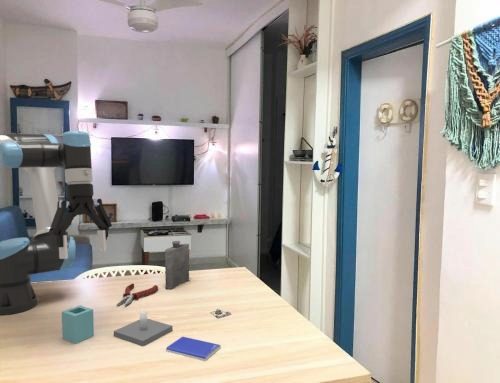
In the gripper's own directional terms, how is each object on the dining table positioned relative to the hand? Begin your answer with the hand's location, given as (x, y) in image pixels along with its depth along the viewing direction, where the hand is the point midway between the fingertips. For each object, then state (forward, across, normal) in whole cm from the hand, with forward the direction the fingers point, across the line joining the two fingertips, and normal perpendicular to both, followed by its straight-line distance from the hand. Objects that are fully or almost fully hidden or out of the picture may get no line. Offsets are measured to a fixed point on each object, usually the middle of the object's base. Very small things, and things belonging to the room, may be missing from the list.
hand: (84, 254), depth 121 cm
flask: (+21, +50, +8) cm, 54 cm away
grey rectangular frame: (+26, +34, -29) cm, 51 cm away
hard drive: (+28, +8, -33) cm, 43 cm away
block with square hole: (+24, -3, 0) cm, 24 cm away
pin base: (+25, +8, -14) cm, 29 cm away
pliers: (+21, +30, +13) cm, 39 cm away
